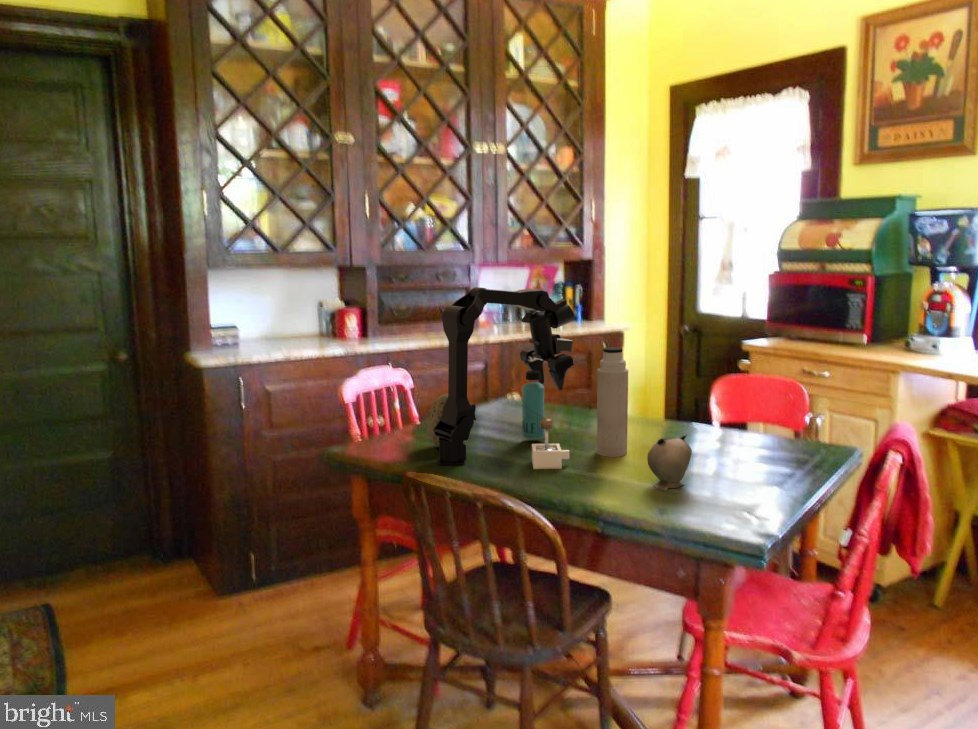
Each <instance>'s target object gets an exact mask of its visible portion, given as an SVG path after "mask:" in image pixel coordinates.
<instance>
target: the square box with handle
mask: <svg viewBox="0 0 978 729" xmlns="http://www.w3.org/2000/svg"><path fill="white" fill-rule="evenodd" d="M539 447H545V443H532V444H531V463H532V468H533V470H561V469H562V468H563V467H562V466H563V464H562V463H563V462H562V461H563V460H570V450H569V449H562V447H561V444H560V443H548V447H553V448H555V449H556V450H552V451H537V449H538V448H539Z"/></svg>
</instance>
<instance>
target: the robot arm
mask: <svg viewBox="0 0 978 729" xmlns="http://www.w3.org/2000/svg"><path fill="white" fill-rule="evenodd" d="M550 297H551V296H549V293H548V291H546V290H545V289H536V288H525V289H518V290H514V291H512V290H511V291H510V290H501V289H489V288H486V287H477V286H476V287H473V288H471V289H470V290H469V291H468V292H467V293H466V294H464V295H462V297H460V298H458V299H457V300H455V301H454V302H453V303H452V304H451V305H449V306H447V307H446V308H445V309H444V310H443V312H442V313H441V314H442V315H441V321H442V327H443V328H442V329H443V332H444V334H445V336H446V339H447V341H448V380H447V381H448V387H447V388H448V392H447V394H448V398H447V400H446V402H445V404H444V406H443V411H442V418H441V419H440V421H439V422H438V423H437V425H436V426H435V427H434V429H433V431H434V434H435V436H436V437H439V447H438V448H439V450H438V451H439V452H438V456H439V458H438V459H439V460H438V465H440V466H441V465H442V466H443V465H444V466H445V465H446V466H447V465H449V466H450V465H453V466H454V465H458V466H459V465H465V464H466V463H465V461H467V457H468V455H467V453H468V452H467V442H466V441H469V437H470V434H471V431H472V429H473V427H474V424H475V421H477V418H476V404H475V403H472V402H470V401H469V398H468V382H469V381H468V379H469V377H468V372H469V371H468V368H469V367H468V366H469V365H468V364H469V362H468V361H469V360H468V359H469V353H468V352H469V341H470V339H471V337H472V334H473V333H474V329H475V323H476V320H477V319H478V318H479V317H480V316H481V315H482V313H483V311H484V308H485V306H486V305H487V304H496V305H508V306H509V305H511V306H515V307H518V308H520V309H523V310H527V311H535V312H534V313H531V312H525V315H524V316H523V317H522V318H521V322H522V323H524V324H525V323H526V324H528V325H529V330H530V336H531V338H529V339H528V342H529V344H532V346H530V347H527V348H524V349H522V350H521V351H520V353H519V357H520V361H522V362H523V364H524V365H525V366H527V368H528V369H529V371H539V372H540V377H541V379H540V380H537V381H538V383H541V384H542V385H543V384H545V373H544V363H545V362H547V367H548V368H549V370H548V372H549V374H550V376H551V378H552V380H553V382H554V384H555V386H556V387H557V389H558V391H562V390H564V384H565V378H566V373H567V371H568V370H569V369H570V368H572V367H573V366H574V365H575V360H574V357H573V356H572V355H569V354H566V353H561V352H569V353H572V351H573V345H574V344H573V343H574V340H572V339H568V338H564V337H563V338H562V337H561V335H560V334H557V333H553V331H552V329H558V328H560V327H562V326H565V325H567V324H570V323H572V322H573V321H574V318H575V313H574V310H573V309H572V307H571V305H569V304H568V303H567V300H566V299H559V300H557V301H556V302H554V300H552V298H550ZM452 430H453V432H452Z"/></svg>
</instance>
